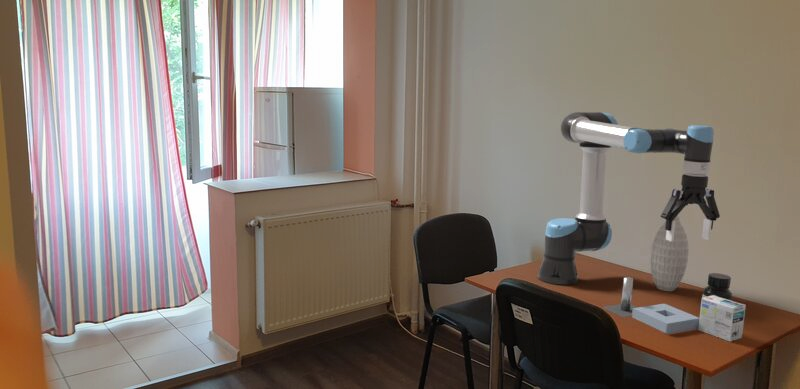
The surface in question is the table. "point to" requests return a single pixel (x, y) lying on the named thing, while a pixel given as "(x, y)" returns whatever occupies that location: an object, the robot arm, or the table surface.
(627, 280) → the pin
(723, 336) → the light bulb box
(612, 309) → the mat
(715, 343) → the table surface
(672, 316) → the socket block
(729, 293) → the ink bottle
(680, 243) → the vase
